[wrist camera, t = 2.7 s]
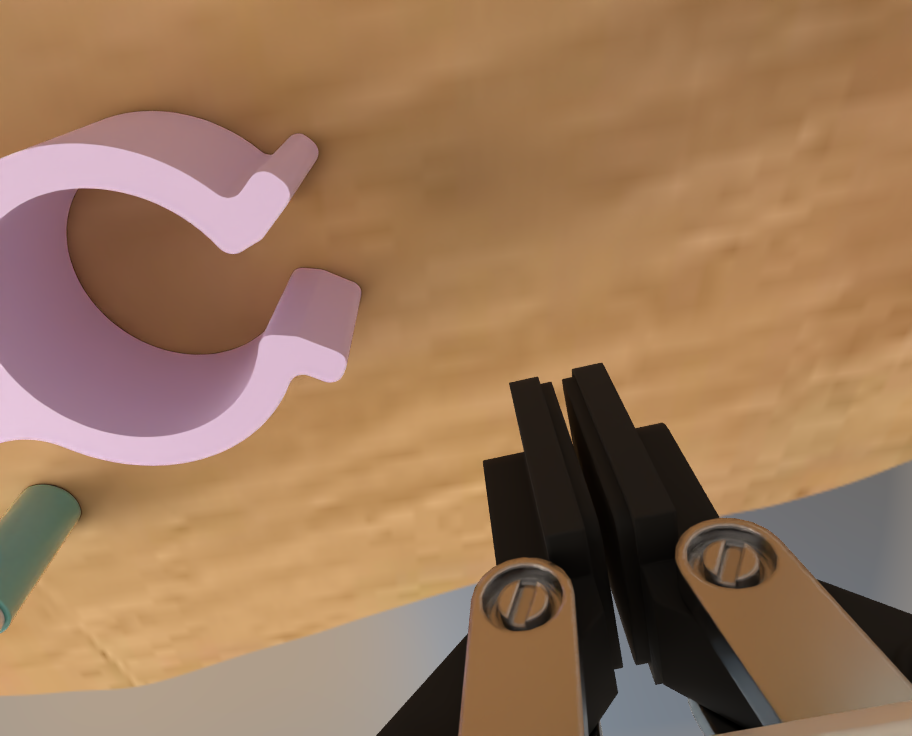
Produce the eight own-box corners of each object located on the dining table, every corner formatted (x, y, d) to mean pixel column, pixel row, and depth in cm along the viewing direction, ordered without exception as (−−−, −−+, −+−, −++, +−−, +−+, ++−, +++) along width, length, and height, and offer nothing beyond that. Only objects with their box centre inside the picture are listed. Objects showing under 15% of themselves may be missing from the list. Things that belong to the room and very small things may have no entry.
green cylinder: (62, 478, 35) (-29, 600, 28) (92, 522, 37) (12, 649, 30) (7, 490, 36) (-98, 614, 28) (38, 534, 37) (-54, 662, 30)
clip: (-8, 427, 34) (-102, 521, 28) (-171, 183, 28) (-337, 235, 22) (377, 345, 32) (367, 425, 26) (294, 72, 26) (256, 94, 20)
